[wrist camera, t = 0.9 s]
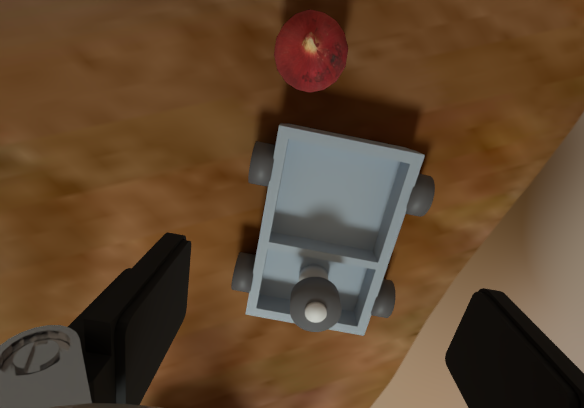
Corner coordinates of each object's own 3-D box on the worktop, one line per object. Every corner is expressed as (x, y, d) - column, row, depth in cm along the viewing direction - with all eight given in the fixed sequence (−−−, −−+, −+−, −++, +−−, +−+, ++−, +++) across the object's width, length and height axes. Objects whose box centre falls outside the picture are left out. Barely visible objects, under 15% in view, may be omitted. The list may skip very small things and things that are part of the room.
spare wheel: (295, 272, 30) (295, 286, 28) (344, 281, 30) (347, 296, 28) (286, 313, 31) (285, 329, 29) (332, 321, 32) (335, 338, 29)
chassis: (262, 118, 30) (256, 121, 26) (429, 152, 31) (447, 160, 27) (234, 290, 37) (227, 313, 33) (373, 316, 37) (381, 340, 33)
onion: (354, 47, 28) (373, 28, 20) (319, 104, 30) (325, 106, 22) (299, 9, 27) (298, -26, 20) (266, 70, 29) (254, 60, 21)
